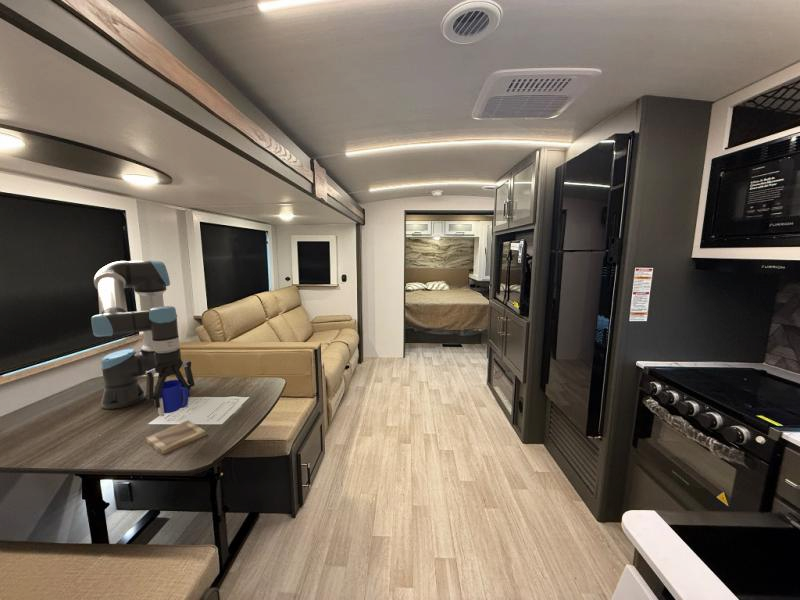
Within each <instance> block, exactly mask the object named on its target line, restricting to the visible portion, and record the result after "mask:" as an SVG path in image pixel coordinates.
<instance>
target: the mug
mask: <svg viewBox="0 0 800 600" xmlns="http://www.w3.org/2000/svg"><path fill="white" fill-rule="evenodd" d="M155 387H156V385H154V389H155ZM182 390H184V395H185V402H184V405H182V404H183V391H182ZM160 398H162V399H163V408H164V414H171V413H175V412H177V411H180V410H181V409H183V408H185V407H186V406H187V404H188V405H189V398H190V397H189V395H188V388H185V387H183V385H182V383H180V382H179V380H178V379H172V380H165V382H164V385H163V388H162V392H161V395H160Z"/></svg>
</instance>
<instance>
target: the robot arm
mask: <svg viewBox="0 0 800 600" xmlns="http://www.w3.org/2000/svg"><path fill="white" fill-rule="evenodd" d="M93 285H94V288H95V289H97V295H98V309H99V310H98V311H99V312H98V313H99V314H95V315H93V316H91V318H90V320H91V321H90V323H91V328H92V333H93V336H94V337H98V338H100V337H113V336H118V335H119V336H120V335H126V334H132V333H133V334H134V333H141V332H143V340H144V341H143V343H144V344H143V345H141V346H140V351H139V350H138V351H136V350H135V349H133V348H126V349H121V350H117V351H113V352H111V353H109V354H107V355H105V356H103V357H102V359H101V360H100V362H101V370H102V378H103V385H104V391H103V395H102V398H101V401H100V402H101V403H100V404H101V408H102V407H103V408H102V409H105V410H113V409H114V410H115V408H116V409H122V408H125V407H129V405H130V406H132V405H135V404H137V403H140V402H141V401H143V400H144V399H145V398H146V399H148V400H149V401H153V405H154V408H156V409H157V411H158V415H159V416H160V417H165V413H164V408H163V399H162V398H160V395H161V392H162V388H163V385H164V382H165V381H167V378H168V377H169V376H174V375H175V377H176V380H179V382H180V383H182V385H183V387H185V388H188V395H189V397H188V398H190V396H191V395H190V393H191V392H190V390H191V388H192V387H194V386H195V380H194V377H193V372H192V362H191V361H190V360H185V361H183V360H182V356H181V355H182V354H181V349H180V348H181V345H180V336H179V329H178V328H179V327H178V314H177V310H176V307H174V306H172V305H171V306H170V305H165V304H164V293H165V292H166V291H167V287H169V286H170V285H171V281H170V275H169V273H168V270H167V266H166V265H165V263H164V262H163V261H160V260H129V261H127V260H120V261H119V260H118V261H114V262H111V263H108V264H107V265H105V266H103V267H102V268H100V269H99V270H98V271H97V272H96V274H95V275H94V277H93ZM130 288H133V292H134V293H136V295H137V294H138V299H139V306H140V310H137V311H135V310H134V311H128V307H127V306H128V305H127V301H126V293H125V289H130ZM182 367H183V368H184V372H185V377H186V379H185V378H184V376H183V373H182V372H181V369H182ZM156 374H158V375H157V382H156V385H154V384H155V383H154V381H155V379H154V376H155V375H156ZM143 376H145V377H146V385H145V386H146V388H145V389H146V391H145V389H144V388H143V386H142V385H141V383H140V382H139V377H143ZM155 386H156V387H155ZM154 387H155V388H154ZM182 391H183V404H182V405H184V402H185V395H184V390H182ZM184 408H185V409H187V408H189V403H188V404H187V406H186V407H184Z"/></svg>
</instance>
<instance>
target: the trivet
mask: <svg viewBox="0 0 800 600" xmlns="http://www.w3.org/2000/svg"><path fill="white" fill-rule="evenodd" d="M206 435H207V431H206V430H205V429H203V428H201V427H200V426H198V425H197V424H195V423H193V422H192V421H190V420H189V419H188V420H185V421H183V422H180V423H178V424H176V425H172V426H170V427H168V428H165V429H163V430H160V431H159V432H155V433H153V434H151V435H149V436H146V437H145V442H147V443H148V444H149V445H150V446H151V447H153V449H155V450H156V451H158V453H160V454H161V455H165V454H168V453H169V452H171V451H174V450H176V449H178V448H180V447H182V446H185V445H187V444H190V443H191V442H193V441H196V440H198V439H200V438H202V437H205V436H206Z"/></svg>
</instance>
